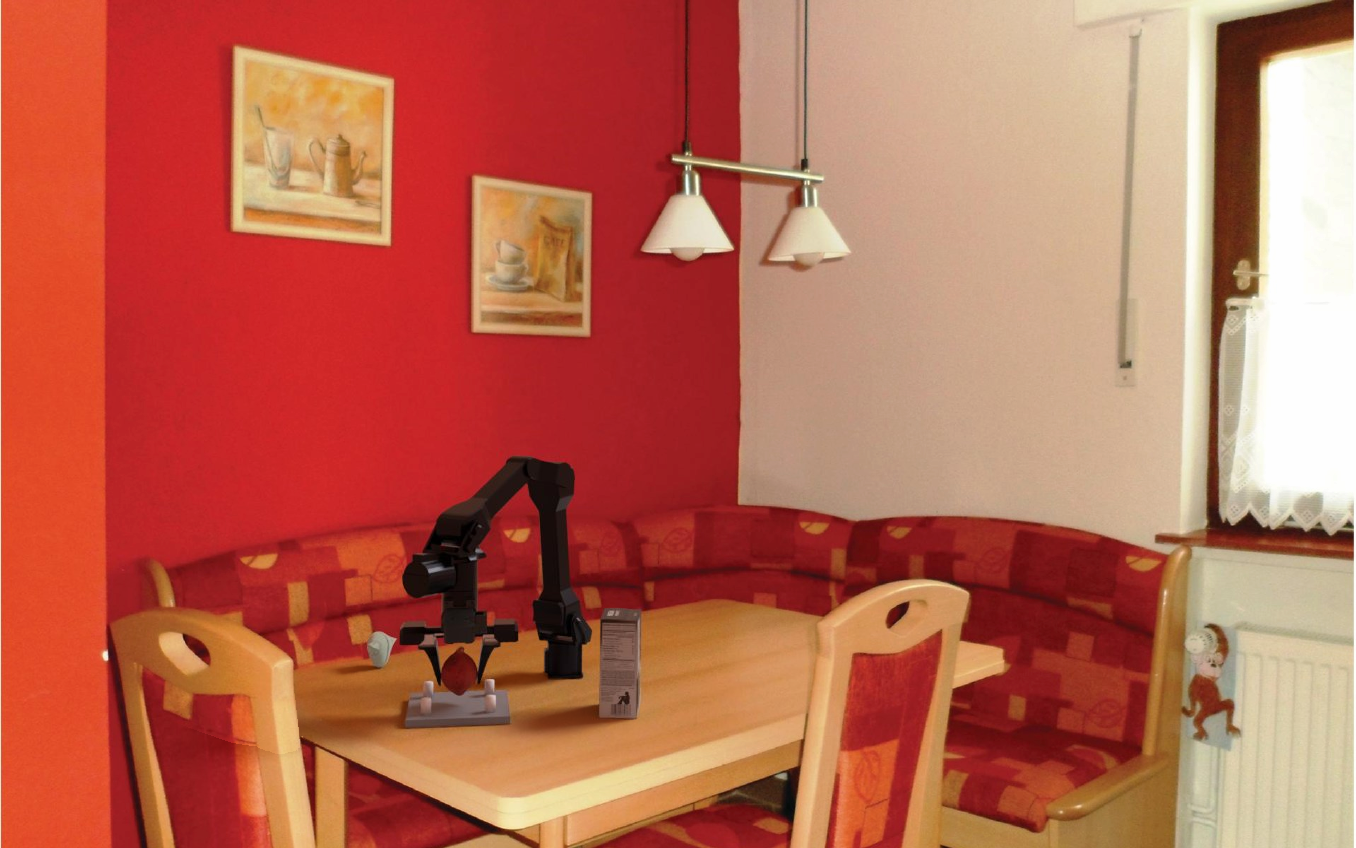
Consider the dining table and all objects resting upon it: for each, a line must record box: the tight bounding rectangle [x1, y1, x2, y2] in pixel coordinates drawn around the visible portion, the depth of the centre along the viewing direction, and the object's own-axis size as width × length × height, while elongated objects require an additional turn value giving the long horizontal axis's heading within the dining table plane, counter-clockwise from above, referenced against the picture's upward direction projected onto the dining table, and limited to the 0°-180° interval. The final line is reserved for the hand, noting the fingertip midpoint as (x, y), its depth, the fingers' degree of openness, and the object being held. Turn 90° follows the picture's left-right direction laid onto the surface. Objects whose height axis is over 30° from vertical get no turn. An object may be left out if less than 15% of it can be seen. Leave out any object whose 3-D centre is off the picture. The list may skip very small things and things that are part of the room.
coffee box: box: [598, 607, 642, 720], centre depth 184 cm, size 9×6×16 cm
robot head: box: [366, 631, 397, 668], centre depth 211 cm, size 8×4×7 cm, turn 163°
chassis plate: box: [404, 678, 511, 729], centre depth 182 cm, size 16×16×4 cm
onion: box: [441, 646, 478, 696], centre depth 182 cm, size 6×6×8 cm
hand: (459, 684), depth 182 cm, fingers closed on onion, 6 cm apart
